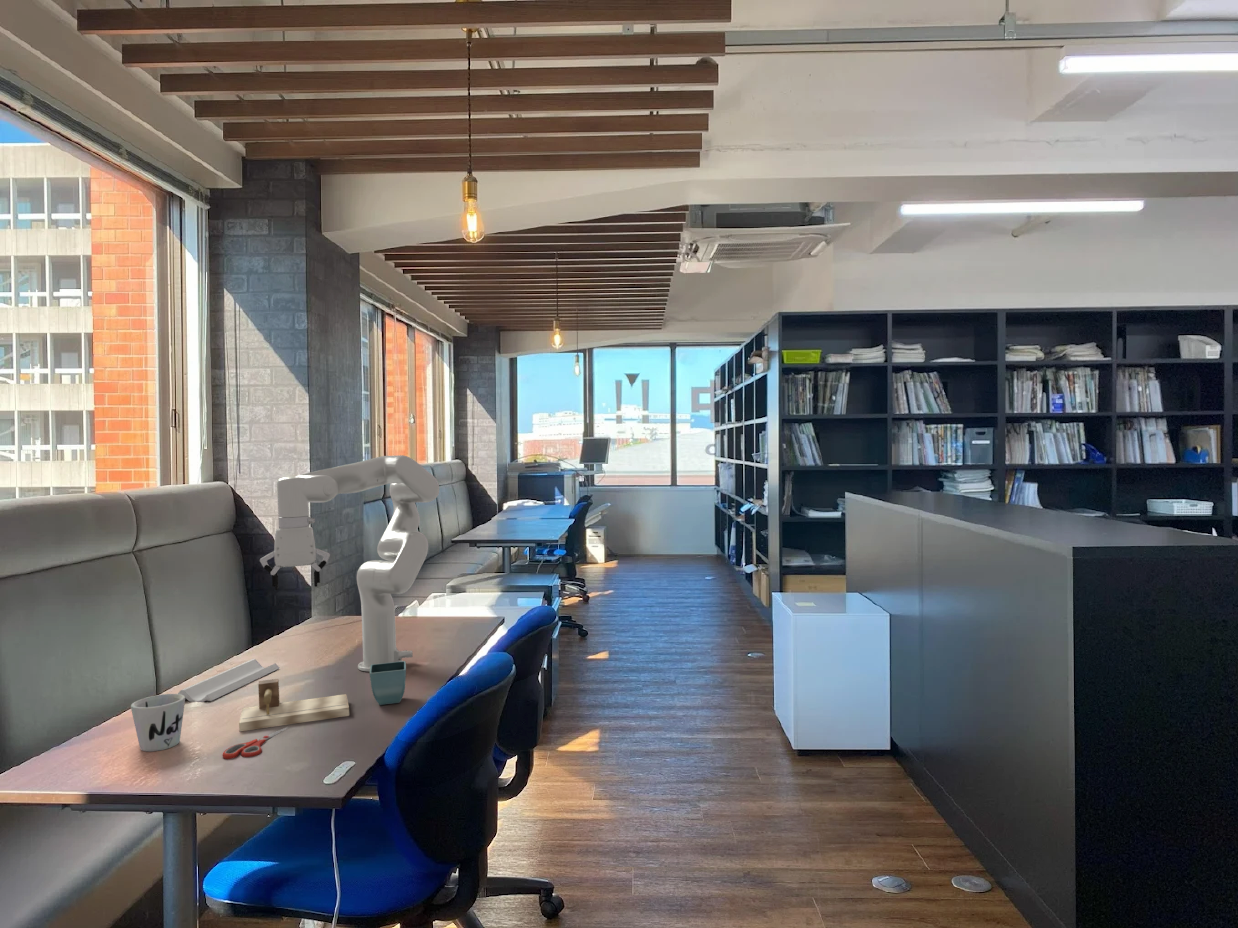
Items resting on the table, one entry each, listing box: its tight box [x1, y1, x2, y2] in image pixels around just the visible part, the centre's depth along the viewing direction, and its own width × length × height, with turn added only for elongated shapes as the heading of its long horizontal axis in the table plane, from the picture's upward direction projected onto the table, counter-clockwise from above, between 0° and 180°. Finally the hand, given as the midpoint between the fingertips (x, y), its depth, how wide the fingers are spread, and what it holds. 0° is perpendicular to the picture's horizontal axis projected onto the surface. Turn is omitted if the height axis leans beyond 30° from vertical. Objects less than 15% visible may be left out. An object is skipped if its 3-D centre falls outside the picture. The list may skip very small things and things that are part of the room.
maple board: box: [238, 693, 350, 732], centre depth 193 cm, size 24×12×2 cm, turn 112°
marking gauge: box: [257, 678, 281, 715], centre depth 191 cm, size 4×13×8 cm, turn 22°
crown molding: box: [177, 658, 280, 703], centre depth 223 cm, size 31×12×4 cm, turn 172°
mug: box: [130, 693, 186, 753], centre depth 176 cm, size 10×15×10 cm
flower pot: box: [368, 660, 407, 706], centre depth 202 cm, size 9×9×9 cm
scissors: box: [221, 726, 289, 760], centre depth 176 cm, size 8×21×2 cm, turn 179°
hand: (296, 587), depth 211 cm, fingers open, 9 cm apart
